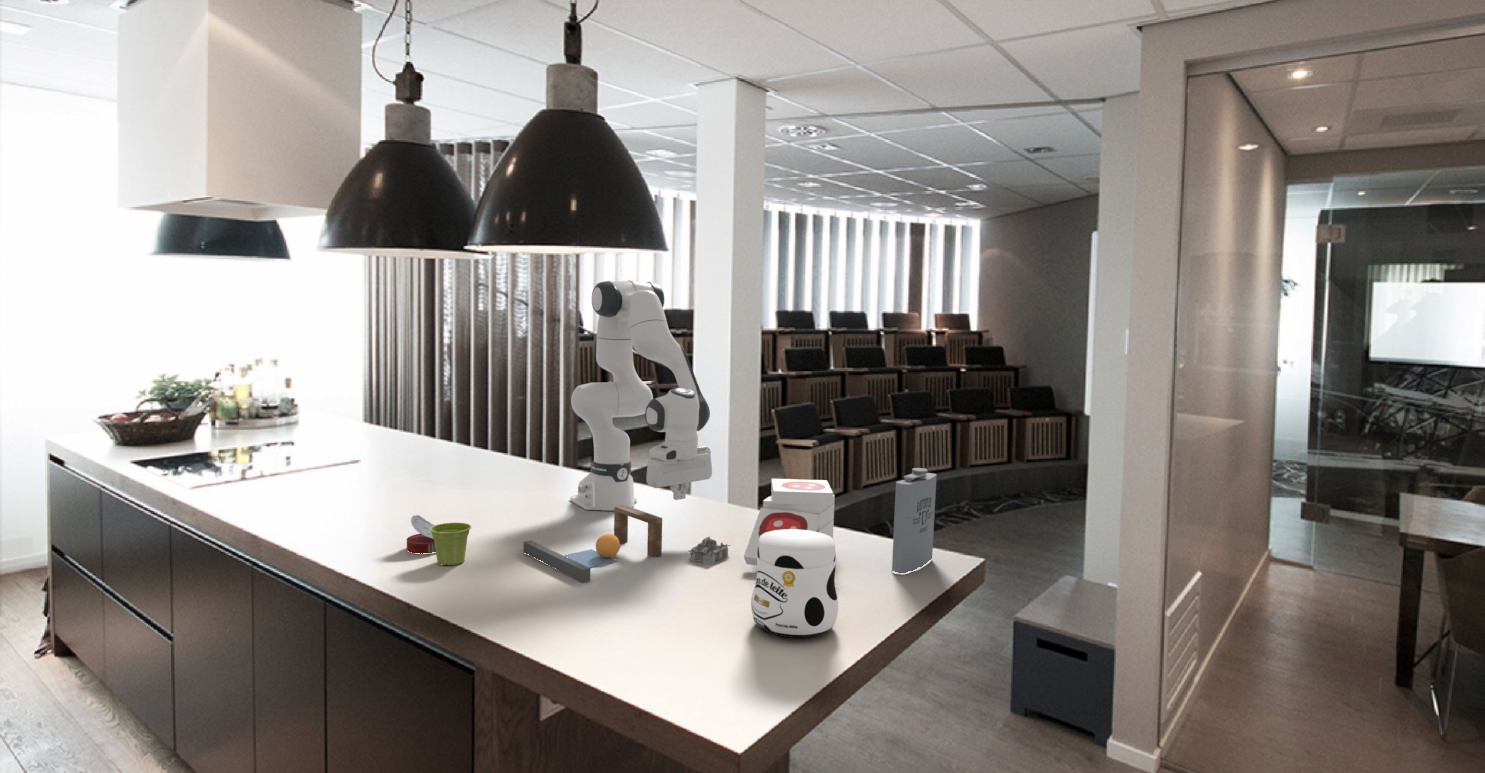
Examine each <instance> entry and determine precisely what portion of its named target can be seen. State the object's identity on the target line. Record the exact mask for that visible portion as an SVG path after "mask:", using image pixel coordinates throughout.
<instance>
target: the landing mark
mask: <svg viewBox="0 0 1485 773" xmlns="http://www.w3.org/2000/svg"><path fill="white" fill-rule="evenodd" d="M567 554H568V555H567ZM567 554H563V555H564V556H565V557H568V558H570V559H572V560H574V561H576V562H578V563H580V564H582V565H585V566H587V567H589V568H591V569H592V568H596V567H600V566H604V565H609V564H613V563H618V562H619V560H618V559H615V558H613V557H611V558H604V557H602V556H600V555H599V554H598V553H597V551H596V550H594V549H592V548H591V549H586V550H583V551H582V550H581V551H578V552H572V553H567Z"/></svg>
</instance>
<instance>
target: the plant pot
mask: <svg viewBox="0 0 1485 773" xmlns="http://www.w3.org/2000/svg"><path fill="white" fill-rule="evenodd" d="M434 525H435V526H432V527H431V528H430V531H431V532H432V536H433V538H434V543H435V549H436V553H435V555H436V561H437V564H438V565H440V564H442V565H441V566H446V565H447V566H450V565H453V566H456V565H455V564H457V565H460V563H461V564H463V562H465V558H466V551H467V543H468V537H469V534H470V530H471V529H472V525H471V524H469V523H465V522H445V523H438V524H434Z"/></svg>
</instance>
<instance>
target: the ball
mask: <svg viewBox="0 0 1485 773" xmlns="http://www.w3.org/2000/svg"><path fill="white" fill-rule="evenodd" d="M620 548H621V543H620V542H619V540H618V538H617V537H616V536H615V535H614V533H613V534H612V533H603V534H602V535H600V536H599V537H598V538H597V540H596V542H595V551H597V553H598V554H599V555H600V556H602V557H604V558H613V557H615V556H616V555H617V554H618V553H619V550H620Z"/></svg>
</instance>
